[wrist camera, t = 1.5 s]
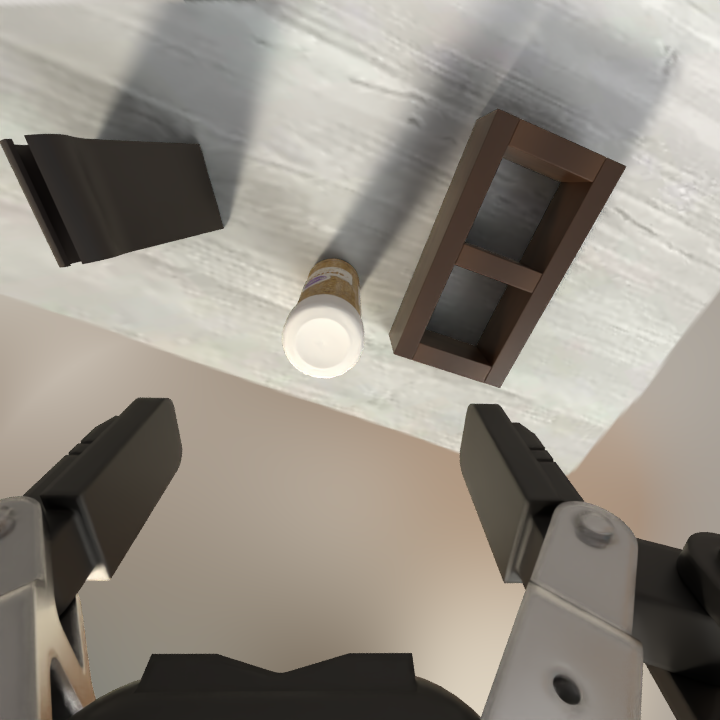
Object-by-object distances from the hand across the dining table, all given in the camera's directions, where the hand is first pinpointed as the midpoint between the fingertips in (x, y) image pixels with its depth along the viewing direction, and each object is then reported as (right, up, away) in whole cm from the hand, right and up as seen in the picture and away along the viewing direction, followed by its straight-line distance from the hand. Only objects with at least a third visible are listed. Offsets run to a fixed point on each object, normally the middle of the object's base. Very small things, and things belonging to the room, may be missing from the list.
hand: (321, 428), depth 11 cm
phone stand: (-15, +15, +19) cm, 28 cm away
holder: (+11, +10, +22) cm, 27 cm away
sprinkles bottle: (-1, +8, +23) cm, 24 cm away
